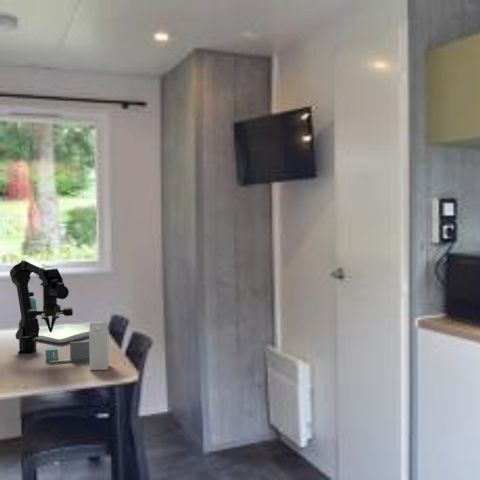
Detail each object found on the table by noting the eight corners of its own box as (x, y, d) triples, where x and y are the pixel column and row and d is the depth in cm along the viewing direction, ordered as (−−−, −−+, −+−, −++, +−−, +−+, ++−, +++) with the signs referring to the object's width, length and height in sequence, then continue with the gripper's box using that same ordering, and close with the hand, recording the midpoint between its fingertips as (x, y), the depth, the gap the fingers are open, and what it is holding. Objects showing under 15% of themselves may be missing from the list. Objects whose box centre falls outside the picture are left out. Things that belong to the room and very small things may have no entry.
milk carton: (92, 365, 252) (91, 321, 250) (109, 365, 252) (108, 320, 251) (89, 370, 245) (88, 324, 243) (107, 370, 245) (106, 324, 244)
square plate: (101, 335, 310) (101, 328, 309) (60, 346, 287) (59, 338, 286) (65, 329, 324) (65, 322, 324) (23, 339, 301) (22, 332, 301)
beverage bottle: (25, 330, 321) (24, 293, 320) (23, 328, 327) (22, 291, 326) (38, 329, 324) (37, 292, 323) (36, 327, 330) (35, 291, 329)
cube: (45, 361, 258) (45, 350, 258) (46, 358, 263) (45, 347, 263) (57, 361, 260) (57, 349, 259) (57, 358, 265) (57, 346, 264)
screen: (70, 358, 258) (70, 342, 258) (70, 358, 259) (70, 342, 259) (99, 356, 262) (98, 340, 261) (98, 356, 263) (98, 340, 262)
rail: (49, 364, 254) (49, 361, 254) (49, 361, 258) (49, 359, 258) (100, 360, 260) (100, 357, 260) (99, 357, 264) (99, 355, 264)
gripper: (26, 300, 250) (27, 337, 251) (72, 298, 256) (73, 334, 257) (27, 296, 261) (28, 331, 262) (72, 294, 266) (72, 329, 268)
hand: (50, 332), depth 262 cm, fingers closed
